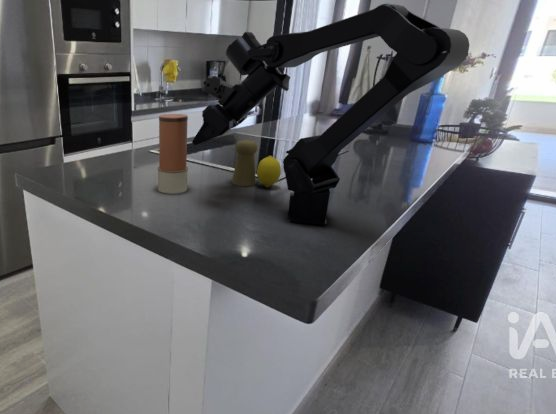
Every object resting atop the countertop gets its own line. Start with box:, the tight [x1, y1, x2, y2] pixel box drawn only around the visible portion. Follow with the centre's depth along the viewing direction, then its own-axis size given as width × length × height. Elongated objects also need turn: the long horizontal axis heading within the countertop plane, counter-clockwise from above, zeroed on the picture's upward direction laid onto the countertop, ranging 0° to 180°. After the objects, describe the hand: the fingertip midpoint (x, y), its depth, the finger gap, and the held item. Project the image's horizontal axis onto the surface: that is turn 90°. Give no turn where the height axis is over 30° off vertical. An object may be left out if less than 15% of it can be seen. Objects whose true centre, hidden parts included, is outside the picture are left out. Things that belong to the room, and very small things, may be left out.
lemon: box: [256, 155, 282, 188], centre depth 94 cm, size 6×6×8 cm
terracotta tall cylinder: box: [158, 113, 189, 171], centre depth 91 cm, size 7×7×12 cm
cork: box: [231, 139, 258, 187], centre depth 97 cm, size 6×6×11 cm
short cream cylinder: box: [157, 166, 189, 195], centre depth 94 cm, size 7×7×6 cm
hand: (199, 140), depth 88 cm, fingers open, 9 cm apart
